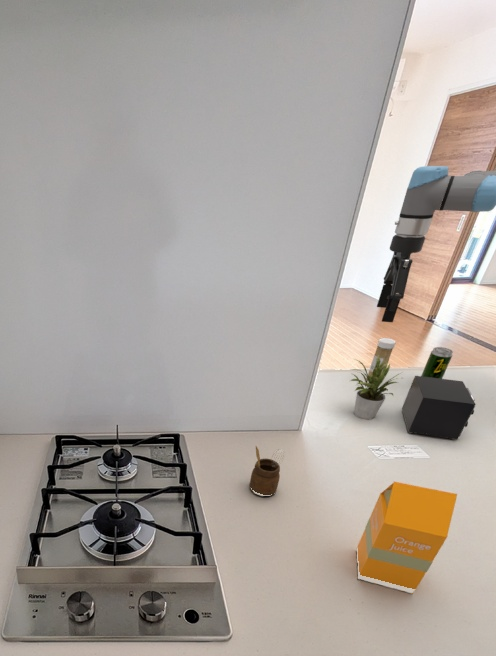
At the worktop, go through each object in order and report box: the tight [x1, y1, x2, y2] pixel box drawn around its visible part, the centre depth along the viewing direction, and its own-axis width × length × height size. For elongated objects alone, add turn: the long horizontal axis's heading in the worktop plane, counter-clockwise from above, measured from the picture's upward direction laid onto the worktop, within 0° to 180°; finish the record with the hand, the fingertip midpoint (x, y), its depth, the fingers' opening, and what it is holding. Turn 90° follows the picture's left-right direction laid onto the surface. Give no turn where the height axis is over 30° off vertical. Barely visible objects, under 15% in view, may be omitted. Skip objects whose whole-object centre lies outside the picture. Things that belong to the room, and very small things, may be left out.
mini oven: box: [401, 375, 477, 440], centre depth 115 cm, size 12×13×11 cm
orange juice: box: [356, 481, 458, 590], centre depth 74 cm, size 8×9×20 cm
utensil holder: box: [249, 445, 284, 495], centre depth 95 cm, size 6×6×12 cm
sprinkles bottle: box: [366, 337, 397, 381], centre depth 137 cm, size 5×5×14 cm
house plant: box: [349, 355, 404, 420], centre depth 120 cm, size 14×14×16 cm
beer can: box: [420, 346, 454, 379], centre depth 132 cm, size 5×5×12 cm
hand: (384, 314), depth 128 cm, fingers open, 13 cm apart
